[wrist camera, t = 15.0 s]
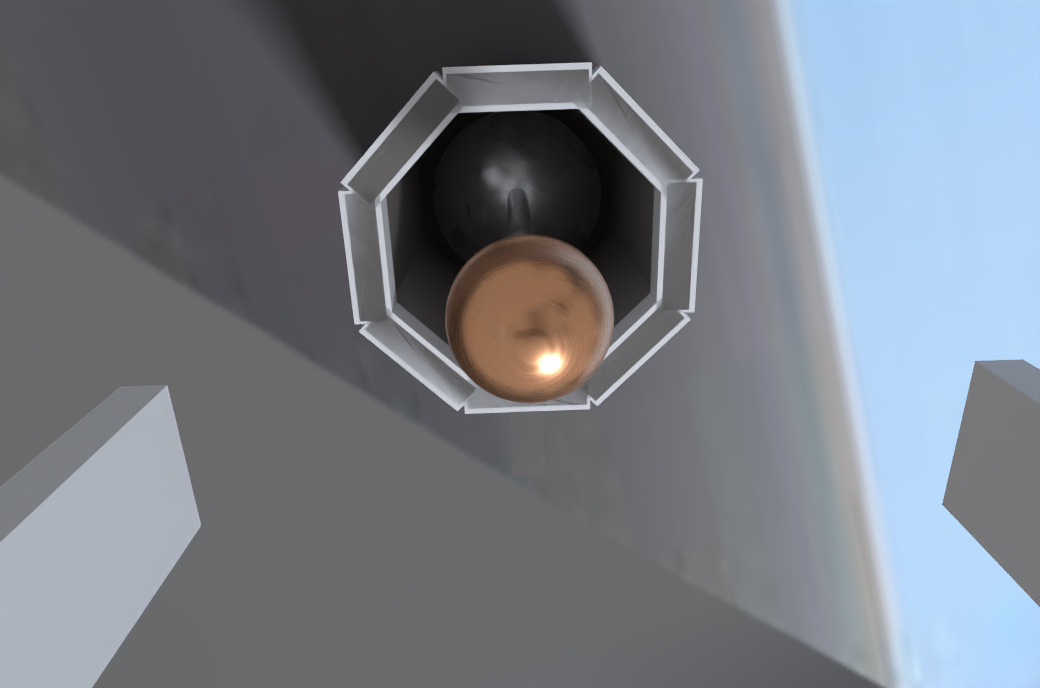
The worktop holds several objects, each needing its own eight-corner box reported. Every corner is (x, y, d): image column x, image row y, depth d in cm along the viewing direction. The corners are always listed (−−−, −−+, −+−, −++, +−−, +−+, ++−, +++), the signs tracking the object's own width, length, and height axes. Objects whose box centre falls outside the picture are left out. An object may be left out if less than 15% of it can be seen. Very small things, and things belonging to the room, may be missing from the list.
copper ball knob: (428, 111, 35) (328, 173, 15) (600, 106, 35) (726, 159, 15) (440, 277, 38) (371, 509, 18) (598, 272, 38) (701, 496, 18)
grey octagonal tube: (389, 69, 36) (323, 71, 23) (635, 60, 36) (710, 58, 23) (416, 364, 42) (376, 501, 29) (627, 357, 42) (683, 489, 29)
